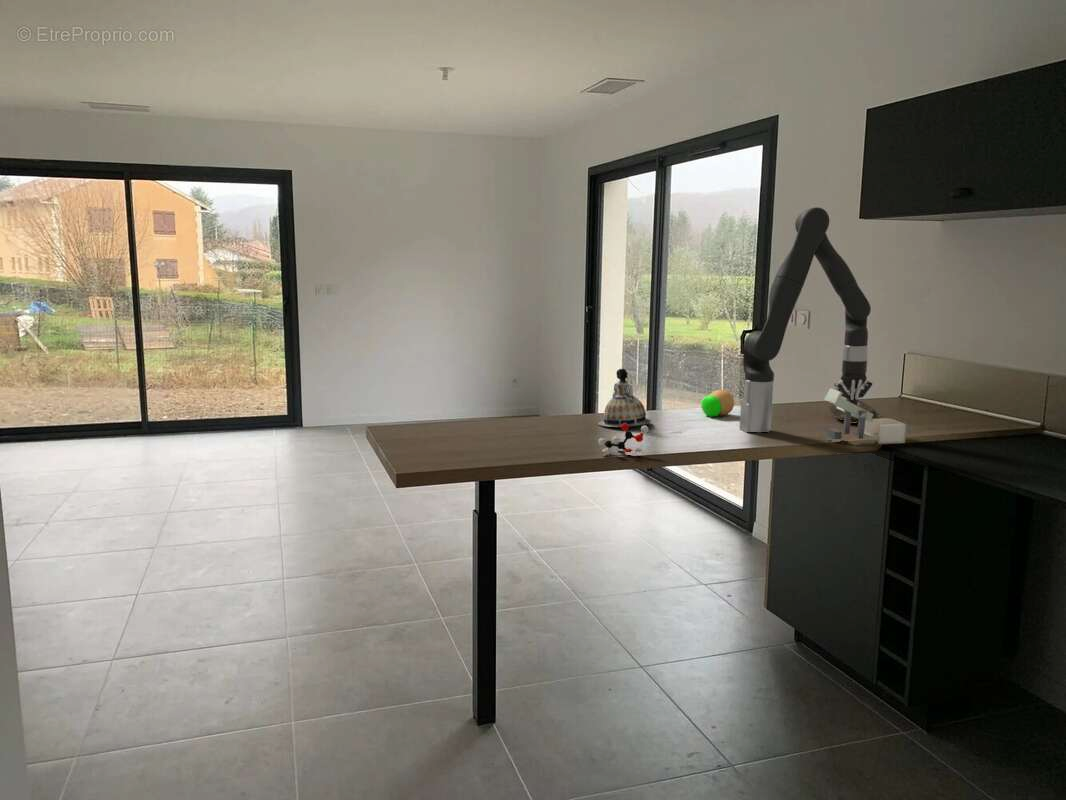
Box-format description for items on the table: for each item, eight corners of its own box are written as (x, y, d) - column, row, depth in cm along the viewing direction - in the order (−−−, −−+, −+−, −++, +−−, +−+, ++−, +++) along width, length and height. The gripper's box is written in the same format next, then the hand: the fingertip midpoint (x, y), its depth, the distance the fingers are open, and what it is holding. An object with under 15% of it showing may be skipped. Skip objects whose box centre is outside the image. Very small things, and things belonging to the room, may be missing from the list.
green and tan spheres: (737, 386, 285) (713, 395, 279) (741, 412, 286) (718, 421, 280) (714, 386, 295) (691, 395, 289) (719, 411, 296) (696, 420, 290)
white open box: (878, 444, 248) (880, 425, 247) (861, 437, 257) (863, 419, 256) (904, 443, 249) (906, 424, 248) (887, 436, 258) (889, 418, 257)
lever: (834, 403, 245) (840, 391, 245) (807, 393, 262) (812, 382, 262) (877, 425, 249) (883, 413, 249) (847, 413, 266) (853, 403, 265)
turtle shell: (850, 412, 268) (822, 390, 287) (846, 436, 272) (818, 413, 290) (894, 410, 271) (863, 388, 289) (889, 433, 274) (859, 411, 292)
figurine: (589, 422, 278) (592, 366, 275) (636, 420, 284) (639, 365, 281) (611, 431, 261) (614, 371, 258) (661, 429, 267) (663, 371, 264)
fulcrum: (840, 446, 245) (843, 413, 243) (819, 436, 257) (821, 404, 255) (874, 444, 247) (877, 412, 245) (851, 435, 259) (854, 403, 257)
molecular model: (609, 470, 231) (596, 440, 229) (606, 461, 239) (593, 432, 237) (658, 449, 230) (644, 419, 228) (653, 440, 238) (640, 411, 236)
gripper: (842, 361, 255) (839, 413, 258) (880, 359, 257) (876, 411, 260) (830, 358, 262) (827, 409, 265) (866, 356, 264) (863, 407, 267)
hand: (851, 410), depth 263 cm, fingers closed
